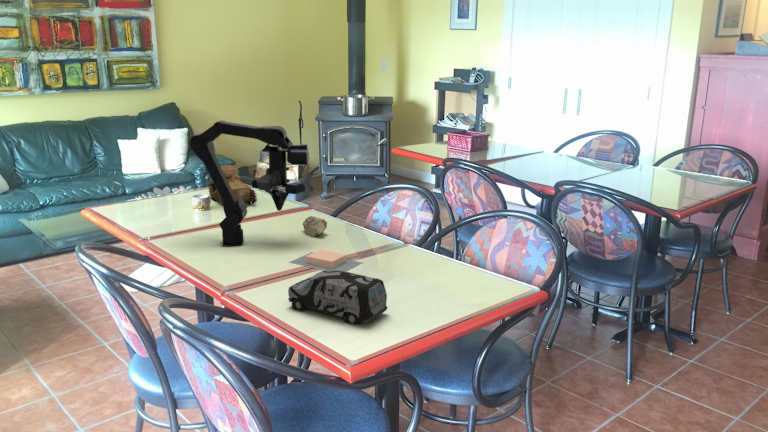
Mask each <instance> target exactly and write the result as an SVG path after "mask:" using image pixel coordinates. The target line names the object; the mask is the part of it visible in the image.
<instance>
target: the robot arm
mask: <svg viewBox="0 0 768 432" xmlns="http://www.w3.org/2000/svg"><path fill="white" fill-rule="evenodd" d="M221 135H229V136H235V137H242V138H246V139H247V138H249V139H255V140H258V141H260V142H262V143H265V144H266V145H265V147H264V148H262V149H261V151H262V152H263V153H266V152H267V153H268V167H267V168H266V170H265V174H263V175H262V176H260V177H258V178H254V179H253V180H252V183H251V184H252V186H251V187H252V188H254V189H258V190H260V191H264V192H265V193H267V194H268V195H270V197H271V198H272V201H273V203H274V205H275V208H276V210H277V211H279V212H280V211H282V209H283V207H284V205H285V202H286V200H287V198H288V196H289V194H290V195H297V194H301V193H304V192H306V185H305V184H304V182H299V181H293V182H290V179H289V178H288V175H287V173H288V172H287V171H290V167H289V166H287V162H288V163H289V164H290V165H291V166H309V163H310V152H309V148H308V147H309V146H308V144H305V143H304V144H293V141H291V140H290V139H289V137H288V135H287V131H286V129H285V127H283V126H280V125H268V126H267V125H266V126H256V125H249V124H243V123H237V122H236V123H235V122H230V121H229V122H228V121H225V120H219V121H218V120H217V121H216V122H214V123H213V124H212V126H210V127H209V128H207V129H206V130H205V131H203V132H199V133H197V134H195V135H193V136H191V138H190V139H189V148H190V149H191V150H192V152H193V153H194V155H195V156H196V157H197V158H198V159H199V160H200V161H201V162H202V163H203V164H204V167H205V169H206V171H207V172H208V174H209V178H210V177H211V179H212V181H213V182H212V184H214V185H215V187H216V189H217V191H218V193H219V195H220V197H221V199H222V201H223V206H222V208H223V213H224V215H225V217H224V219H222V221H221V222H219V227H220V229H221V232H222V234H221V235H222V247H234V246H243V243H244V229H243V228H242V225H241V223H242V221H243V220H244V219H245V218H246V217H247V214H248V209H247V208H249V207H248V204H247V203H245V202H244V200H243V197H241V198H238V197H237V196H236V195H235V194H234V193H233V191H232V189H231V187H230V184H229V182H228V180H227V178H226V176H225V174H224V172H223V170H222V168H221V166H222V165H220V161H218V159H217V156H216V148H215V144H214V141H215V140H216V139H218V138H219V137H220V136H221ZM252 188H251V189H252Z"/></svg>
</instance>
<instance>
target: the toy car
mask: <svg viewBox="0 0 768 432" xmlns="http://www.w3.org/2000/svg"><path fill="white" fill-rule="evenodd" d="M287 294H288V299H287V300H288V302H289V303H291V308H292V309H293V310H295V311H297V312H304V311H305V310H306V309H311V310H315V311H317V312H323V313H325V314H329V315H333V316H338V317H342V318H344V319H343V320H344V323H345V324H350V325H354V326H357V325H359V324H360V322H362V323H363V322H364V323H365V324H368V323H371V322H372V321H373V320H374V319H376V318H377V317H379V316H381V314H383V313H384V312H385V311H387V310H388V306H387V302H388V300H387V299H388V298H387V297H388V295H387V291H386V286H385V284H384V280H382V279H378V278H374V277H372V276H371V277H370V276H367V275H362V274H358V273H354V272H349V271H347V272H345V271H340V270H335V269H326V270H320V271H319V272H317V273H316V274H314V275H313V276H310V277H307V278H305V279H303V280H301V281H298V282H295V283H294V284H292V285H290V286H289V287H288V290H287Z"/></svg>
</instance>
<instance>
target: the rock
mask: <svg viewBox="0 0 768 432" xmlns="http://www.w3.org/2000/svg"><path fill="white" fill-rule="evenodd" d="M304 219H305V220H304V221H303V222H302V226H303V229H304V231H305V233H306V234H307V235H308V236H309V237H312V238H315V237H318V236H320V235H322V234H324V232H325V230H326V229H327V228H328V226H327V225H328V222H327V221H326V220H325V219H324V218H320V217H316V216H313V215H311V216H308V217H306V218H304Z"/></svg>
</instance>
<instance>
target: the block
mask: <svg viewBox="0 0 768 432" xmlns="http://www.w3.org/2000/svg"><path fill="white" fill-rule="evenodd" d="M347 260H348V254H347V253H346V254H345V253H341V252H336V251H331V250H327V249H322V248H321V249H319V250H317V251H315V252H313V253H312V254H310V255H307V256H306V263H307V264H311V265H316V266H320V267H325V268H330V269H333V268H335V267H337V266H339V265H341V264H343V263H345V262H347Z"/></svg>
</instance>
